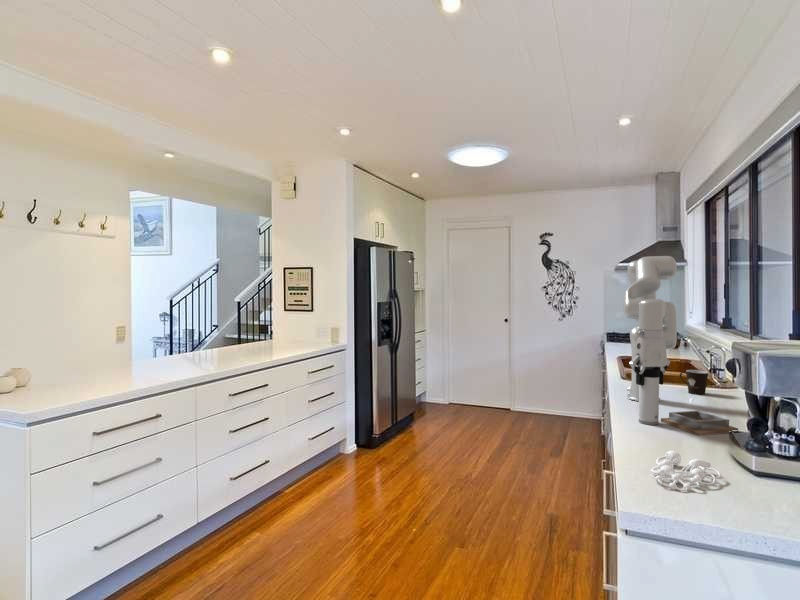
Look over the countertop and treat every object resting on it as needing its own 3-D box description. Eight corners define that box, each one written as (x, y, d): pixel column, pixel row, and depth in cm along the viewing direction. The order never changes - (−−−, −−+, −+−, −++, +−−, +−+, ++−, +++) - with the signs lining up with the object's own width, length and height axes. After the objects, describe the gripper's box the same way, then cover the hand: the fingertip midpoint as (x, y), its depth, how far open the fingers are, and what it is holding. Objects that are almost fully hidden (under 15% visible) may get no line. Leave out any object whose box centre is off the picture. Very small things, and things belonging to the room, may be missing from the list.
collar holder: (660, 421, 168) (660, 411, 168) (697, 418, 172) (697, 408, 172) (698, 435, 153) (699, 424, 152) (738, 431, 156) (738, 420, 156)
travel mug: (662, 425, 163) (663, 368, 163) (641, 424, 164) (642, 367, 164) (656, 420, 169) (657, 365, 169) (636, 419, 171) (637, 365, 170)
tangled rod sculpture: (702, 505, 106) (704, 488, 106) (636, 481, 117) (637, 465, 116) (724, 479, 119) (726, 464, 119) (663, 459, 130) (664, 445, 129)
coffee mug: (712, 395, 210) (712, 373, 209) (692, 395, 210) (693, 373, 209) (696, 389, 221) (696, 368, 221) (677, 389, 221) (678, 368, 221)
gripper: (637, 336, 160) (636, 387, 161) (679, 335, 164) (678, 385, 165) (622, 334, 168) (621, 383, 168) (662, 333, 172) (661, 381, 172)
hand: (649, 384), depth 167 cm, fingers open, 7 cm apart
